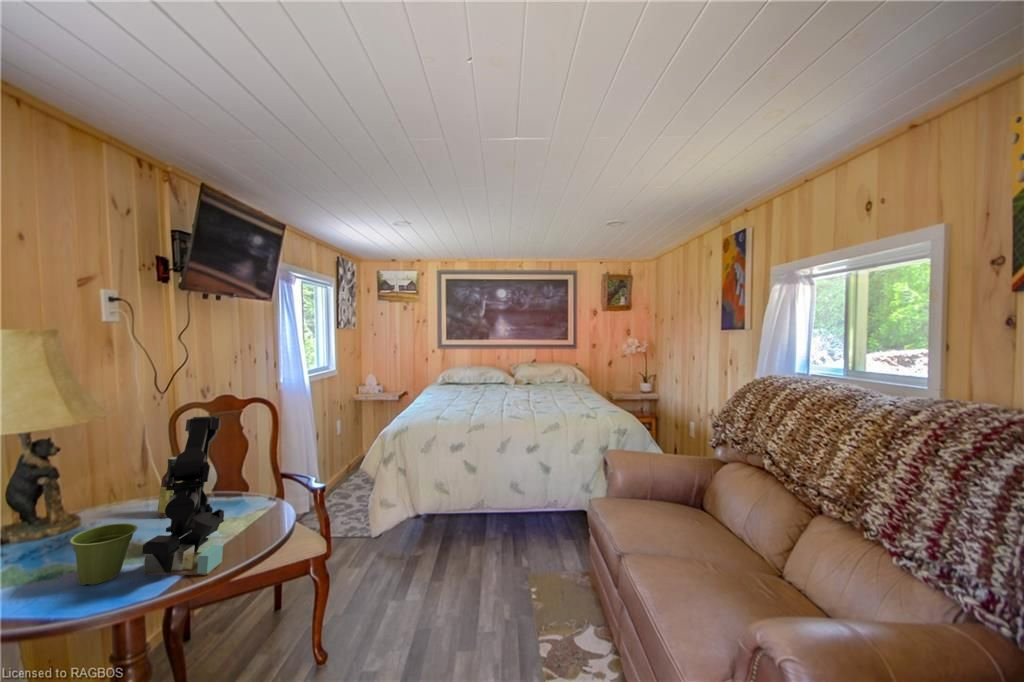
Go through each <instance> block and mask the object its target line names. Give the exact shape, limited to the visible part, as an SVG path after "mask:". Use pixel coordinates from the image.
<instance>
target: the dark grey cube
mask: <svg viewBox="0 0 1024 682" xmlns="http://www.w3.org/2000/svg"><path fill="white" fill-rule="evenodd" d="M178 546H180V545H178ZM143 564H144V565H143V573H144V572H156V573H164V570H163V568H162V567H161V565H160V564H159V562H158V561H157V559H156V558H155V557H154V556H153V555H152V554H144V562H143Z"/></svg>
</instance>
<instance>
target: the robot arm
mask: <svg viewBox="0 0 1024 682" xmlns="http://www.w3.org/2000/svg"><path fill="white" fill-rule="evenodd" d="M221 424H222V423H221V418H217V415H213V416H212V415H211V416H209V415H207V416H193V417H191V418H190V419H189V418H188V419H186V422H185V429H184V431H185V432H188V433H187V434H188V437H187V440H186V443H185V447H184V451H183V452H180V453H179V454H178V455H177V456H176V457H177V458H176V460H175V463H174V464H172V465H171V468H170V473H169V478H168V483H167V488H166V491H170V490H174V493H173V496H172V498H171V499H170V501H169V502H168V504H167V506H166V508H165V514H166V516H167V517H166V518H168V519H170V525H169V526H168V527H166V528H165V532H166V533H171V534H169V535H156V536H155V537H152V538H151V539H149V540H148V541H146V542H145V543H144V544H143V545H142V550H141V555H146V554H152V555H153V556H154V557H155V558H156V559H157V561H158V562H159V564H160V565H161V567H162V568H163V570H164V572H165V573H170V572H171V569H172V565H173V560H174V554H175V552H176V551H177V550H178V549H179V548H180V547H178V545H195V547H194V552H199V548H200V546H201V545H203V544H204V543H205V542H207V541H208V540H209V536H210V535H211V534H213V533H215V532H216V531H217V532H218V529H219V526H220V525H221V524H222V523H224V521H225V520H224V518H225V510H223V509H221V508H219V509H217V510H215V511H213V509H214V508H213V507H212V505H211V503H209V498H208V496H207V494H206V493H205V491H204V489H205V484H206V483H208V482H209V475H210V470H211V465H210V464H209V461H208V458H209V452H210V451H209V450H210V444H211V443H212V442H213V441H214V440H215V438H216V437H217V435H218V431H220V430H221ZM173 478H174V481H175V482H178V483H172V480H173ZM179 481H182V482H179ZM171 484H172V485H171Z"/></svg>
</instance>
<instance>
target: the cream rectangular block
mask: <svg viewBox="0 0 1024 682" xmlns="http://www.w3.org/2000/svg"><path fill="white" fill-rule="evenodd" d="M178 547H180V548H179V549H178V550H177V551H176V552H175V554H174V560H173V565H172V569H171V570H192V569H194V568H195V567H196V566H198V557H199V555H200V554H202V552H201V551H197V552H194V547H195V545H180V546H178Z"/></svg>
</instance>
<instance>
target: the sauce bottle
mask: <svg viewBox="0 0 1024 682" xmlns="http://www.w3.org/2000/svg"><path fill="white" fill-rule="evenodd" d="M176 458H177V456H170V457H168V458H167V468H166V473H165V474H164V475H163V476H162V478H161V483H160V488H159V489H160V490H159V496H158V505H157V517H158V518H161V519H164V518H168V517H167V516H166V514H165V508H166V506H167V504H168V502H169V501H170V499H171V498H172V496H173V493H174V490H170V491H166V488H167V483H168V478H169V473H170V468H171V465H172V464H174V463H175V460H176ZM179 482H182V481H179ZM172 483H178V482H175V481H174V478H173V480H172ZM171 485H172V484H171Z"/></svg>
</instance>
